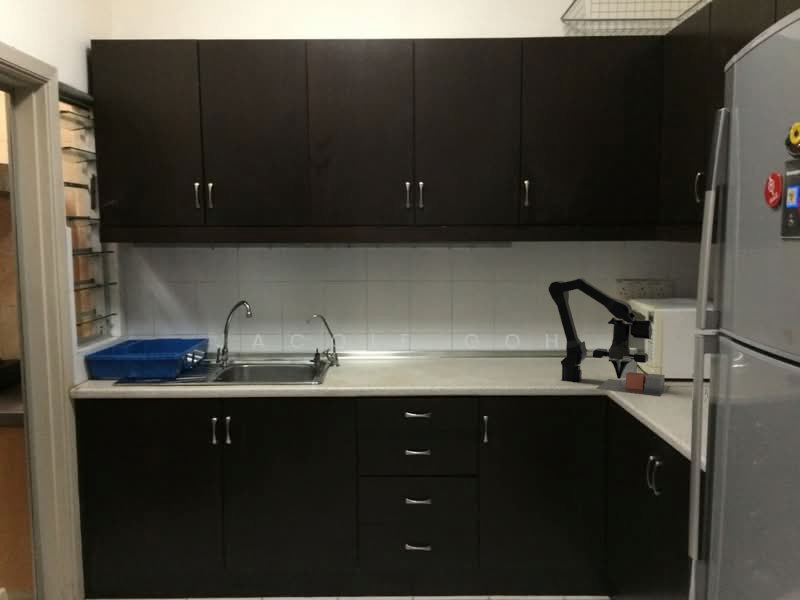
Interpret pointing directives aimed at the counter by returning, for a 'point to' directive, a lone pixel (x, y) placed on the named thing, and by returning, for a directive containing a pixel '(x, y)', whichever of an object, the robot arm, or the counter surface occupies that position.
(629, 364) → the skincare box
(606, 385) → the coupler
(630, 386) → the block
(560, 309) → the robot arm
